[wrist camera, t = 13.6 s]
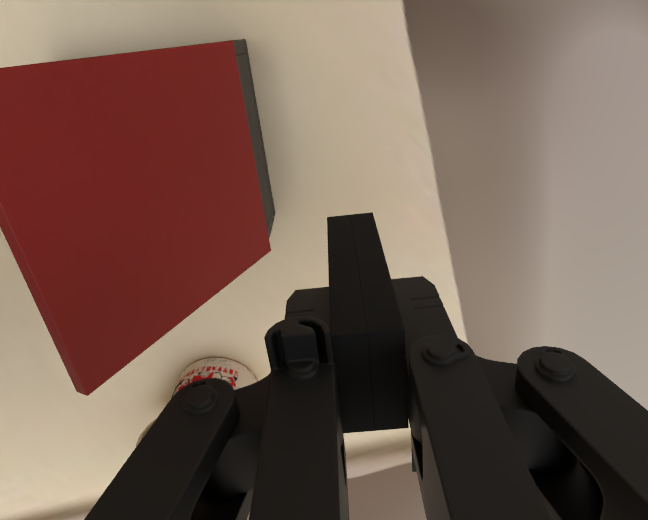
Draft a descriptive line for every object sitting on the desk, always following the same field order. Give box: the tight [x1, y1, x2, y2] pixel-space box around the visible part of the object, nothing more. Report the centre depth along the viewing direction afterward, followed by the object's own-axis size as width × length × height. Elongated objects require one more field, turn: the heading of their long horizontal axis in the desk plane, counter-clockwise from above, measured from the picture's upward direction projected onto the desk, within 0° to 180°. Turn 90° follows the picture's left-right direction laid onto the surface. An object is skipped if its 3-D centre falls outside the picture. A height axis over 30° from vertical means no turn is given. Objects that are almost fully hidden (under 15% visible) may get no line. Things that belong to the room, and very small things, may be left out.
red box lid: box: [0, 41, 271, 396], centre depth 24 cm, size 16×14×1 cm
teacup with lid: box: [136, 358, 257, 447], centre depth 43 cm, size 12×9×12 cm
